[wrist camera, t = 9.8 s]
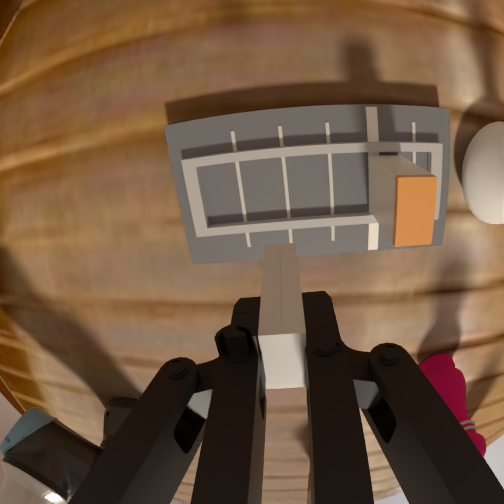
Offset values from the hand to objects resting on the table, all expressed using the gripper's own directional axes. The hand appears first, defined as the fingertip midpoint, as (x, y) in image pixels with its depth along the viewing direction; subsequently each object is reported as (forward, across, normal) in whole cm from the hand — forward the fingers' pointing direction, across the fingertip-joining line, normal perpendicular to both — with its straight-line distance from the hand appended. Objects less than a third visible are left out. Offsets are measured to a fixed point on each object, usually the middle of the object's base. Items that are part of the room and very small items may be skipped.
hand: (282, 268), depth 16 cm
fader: (+13, +10, +1) cm, 16 cm away
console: (+15, +4, +1) cm, 16 cm away
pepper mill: (+16, +22, -28) cm, 39 cm away
